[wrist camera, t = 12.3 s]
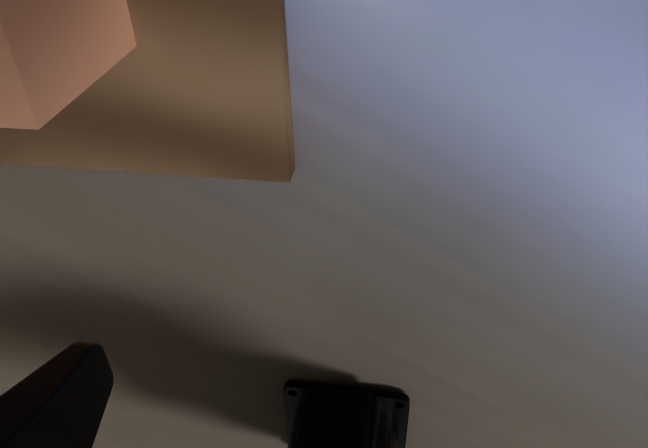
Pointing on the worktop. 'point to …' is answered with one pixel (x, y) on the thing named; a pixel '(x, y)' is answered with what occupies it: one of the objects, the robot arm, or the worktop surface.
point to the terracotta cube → (56, 54)
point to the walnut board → (180, 99)
